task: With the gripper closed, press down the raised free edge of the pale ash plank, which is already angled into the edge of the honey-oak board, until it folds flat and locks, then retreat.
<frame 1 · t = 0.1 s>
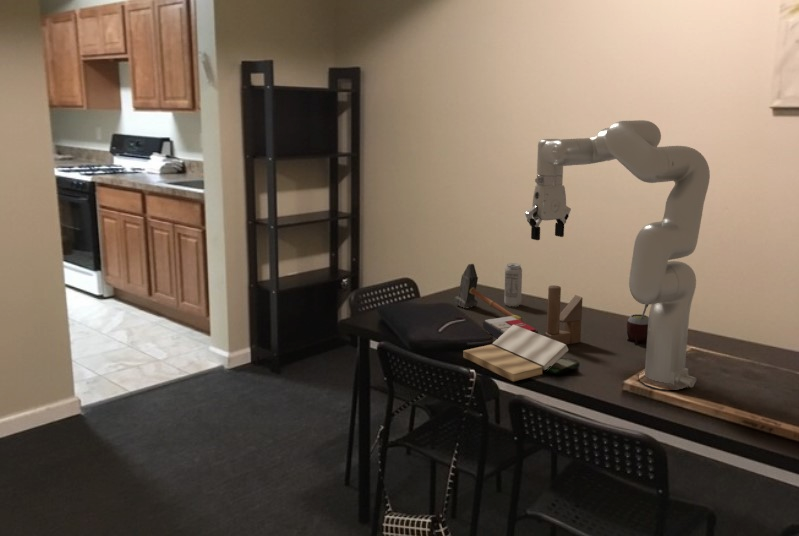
hand: (547, 237, 212), 31 cm above the table, fingers open, 9 cm apart
oak board: (501, 365, 195), on the table
mate gourd: (639, 343, 213), on the table
hammer: (488, 314, 244), on the table
wooden block: (562, 343, 213), on the table
ash plank: (529, 346, 199), point 4 cm above the table, hinge at 30.0°
calculator: (509, 336, 221), on the table
energy drink can: (512, 305, 255), on the table
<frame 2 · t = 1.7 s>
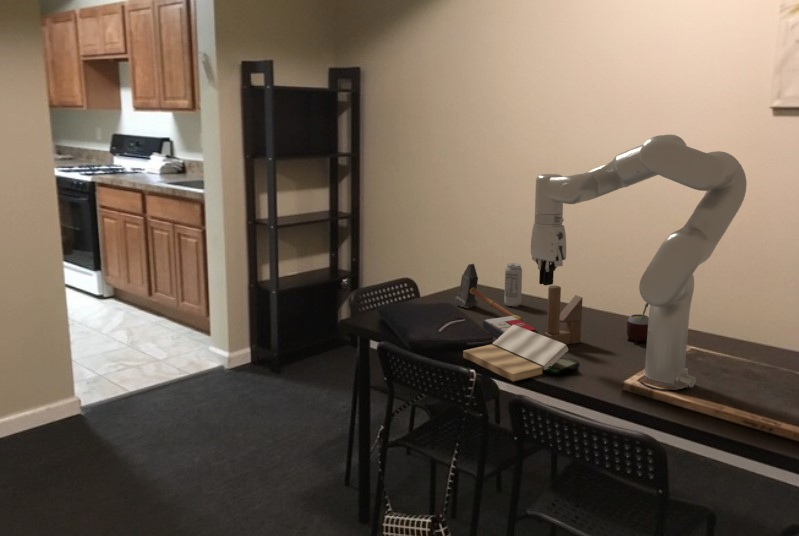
hand: (546, 283, 198), 21 cm above the table, fingers closed
nothing on the table moved.
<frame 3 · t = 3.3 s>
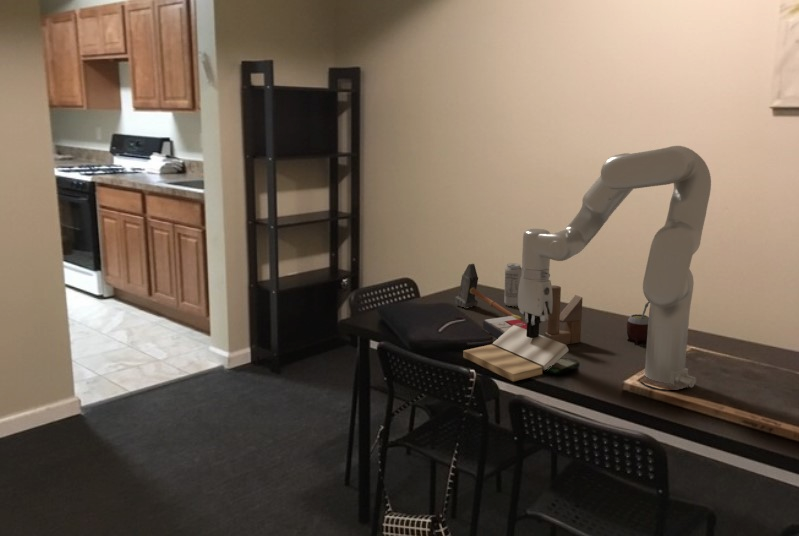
hand: (532, 336, 199), 6 cm above the table, fingers closed
ash plank: (529, 346, 199), point 4 cm above the table, hinge at 29.0°, touching gripper
everything else where it was.
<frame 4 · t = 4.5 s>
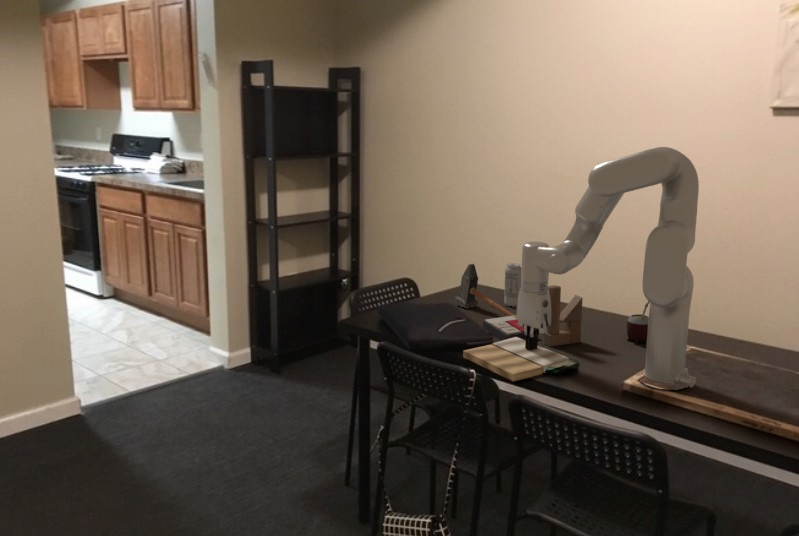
hand: (531, 348, 200), 3 cm above the table, fingers closed
ash plank: (529, 353, 199), point 1 cm above the table, hinge at 3.1°, touching gripper
everything else where it was.
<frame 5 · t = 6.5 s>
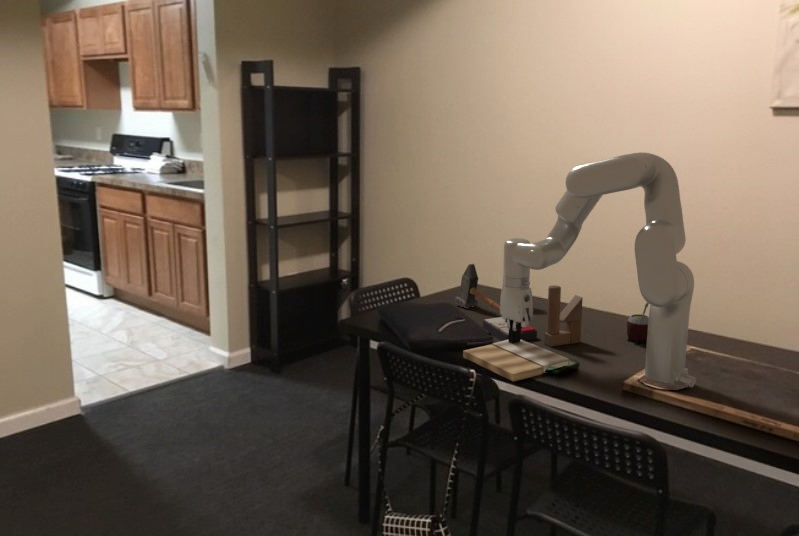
hand: (514, 342, 207), 2 cm above the table, fingers closed
ash plank: (529, 354, 199), point 1 cm above the table, hinge at 1.5°, touching gripper
everything else where it was.
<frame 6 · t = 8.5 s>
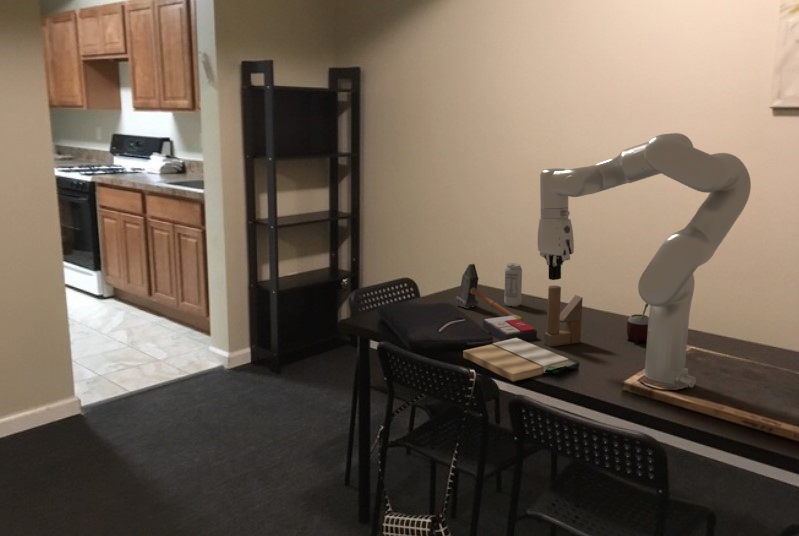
hand: (554, 278, 197), 23 cm above the table, fingers closed
ash plank: (529, 354, 199), point 1 cm above the table, hinge at 1.1°
everything else where it was.
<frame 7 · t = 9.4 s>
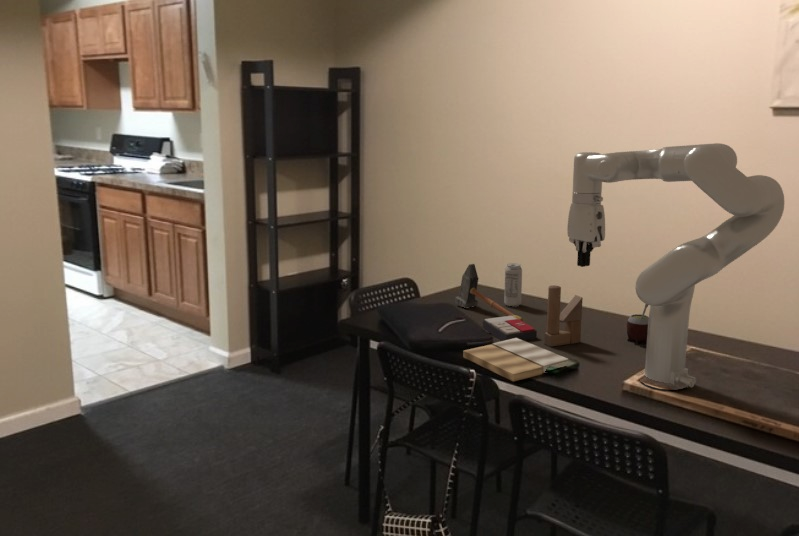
hand: (583, 265, 193), 27 cm above the table, fingers closed
nothing on the table moved.
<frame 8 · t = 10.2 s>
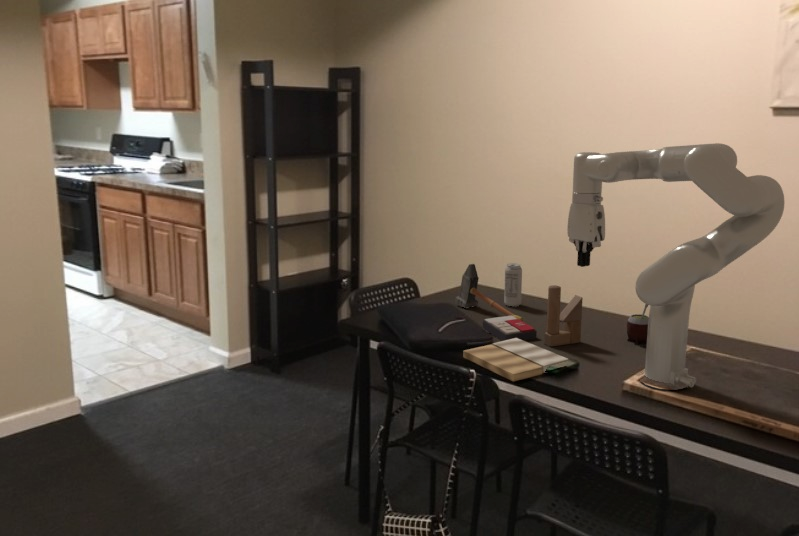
hand: (583, 265, 193), 27 cm above the table, fingers closed
nothing on the table moved.
at the end: ash plank at +1° (first picture: +30°) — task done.
